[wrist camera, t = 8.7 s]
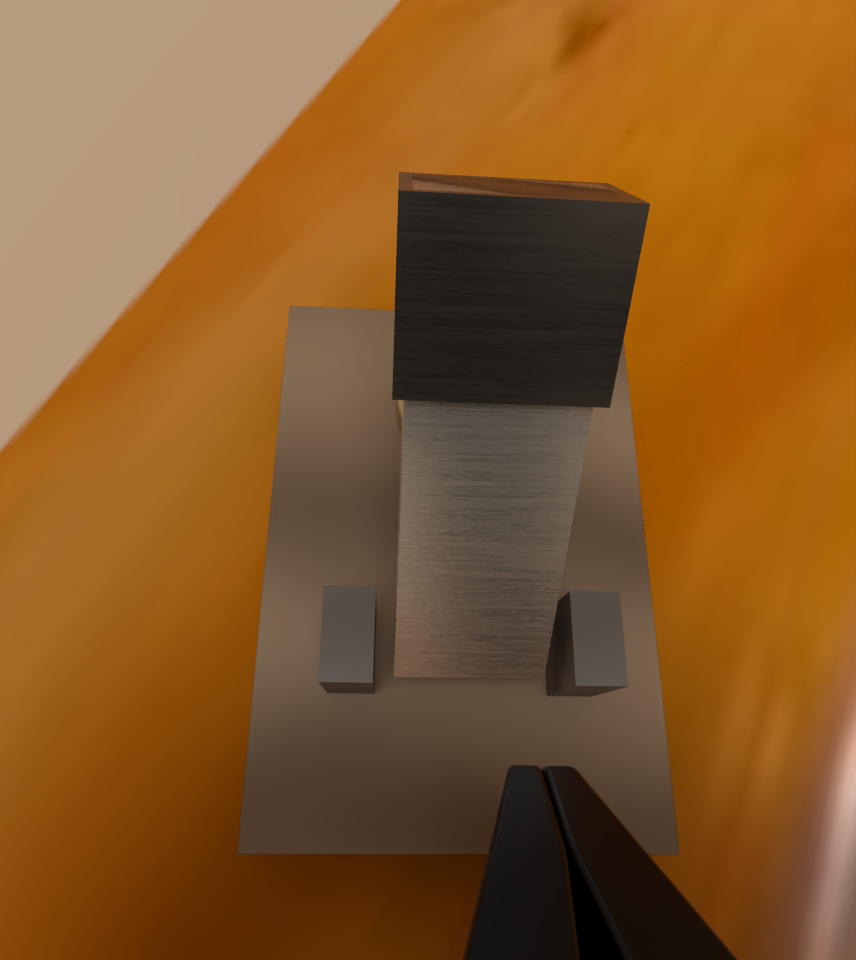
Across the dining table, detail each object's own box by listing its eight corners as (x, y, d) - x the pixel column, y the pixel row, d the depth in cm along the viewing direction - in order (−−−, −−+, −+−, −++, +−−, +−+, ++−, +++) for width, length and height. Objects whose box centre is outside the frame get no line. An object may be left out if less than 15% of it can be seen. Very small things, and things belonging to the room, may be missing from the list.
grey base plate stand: (645, 843, 16) (736, 873, 12) (254, 842, 16) (208, 874, 12) (600, 358, 21) (654, 260, 17) (298, 346, 21) (276, 242, 16)
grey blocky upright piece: (555, 686, 14) (649, 203, 9) (382, 684, 14) (398, 190, 9) (536, 614, 16) (608, 183, 11) (385, 610, 16) (399, 172, 11)
